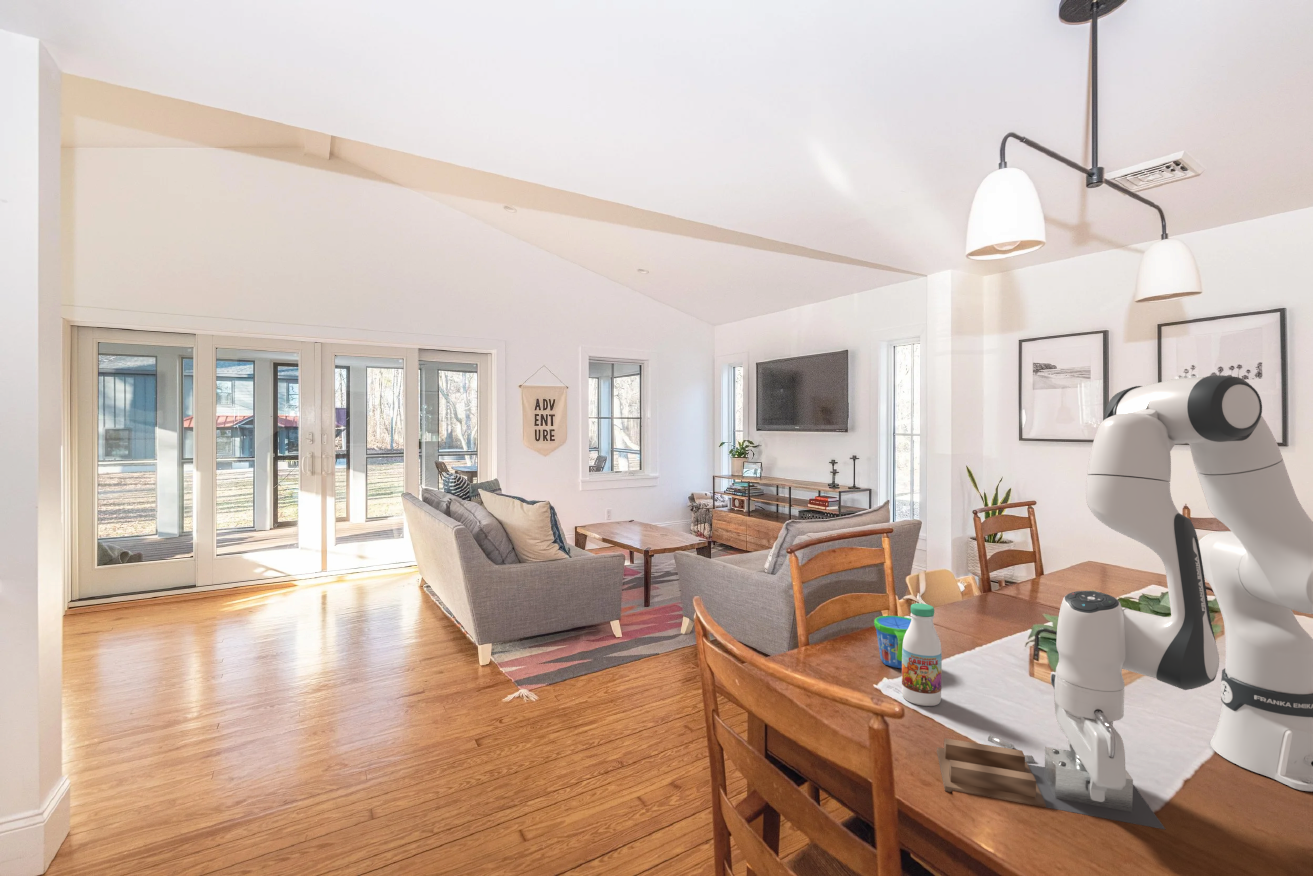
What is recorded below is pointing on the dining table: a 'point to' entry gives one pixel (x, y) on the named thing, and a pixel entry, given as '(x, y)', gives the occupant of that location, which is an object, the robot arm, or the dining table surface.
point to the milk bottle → (921, 658)
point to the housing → (1080, 781)
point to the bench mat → (1139, 806)
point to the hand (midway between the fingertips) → (1086, 782)
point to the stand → (988, 772)
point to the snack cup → (891, 638)
